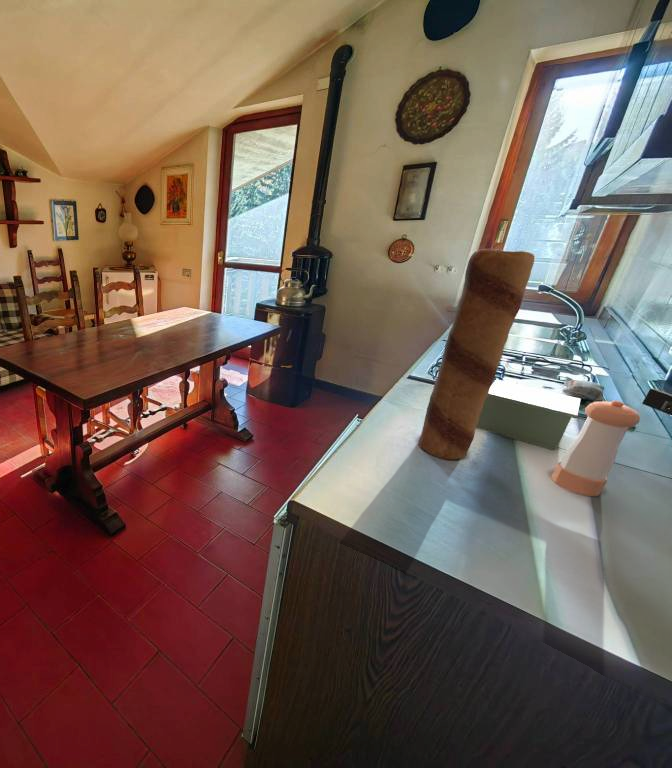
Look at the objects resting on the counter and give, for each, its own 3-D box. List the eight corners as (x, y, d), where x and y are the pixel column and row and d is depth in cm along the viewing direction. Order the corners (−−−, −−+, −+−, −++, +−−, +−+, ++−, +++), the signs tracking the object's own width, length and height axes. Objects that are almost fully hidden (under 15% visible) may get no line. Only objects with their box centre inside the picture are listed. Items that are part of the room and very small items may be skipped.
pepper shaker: (599, 485, 80) (645, 402, 73) (600, 501, 76) (649, 414, 68) (551, 470, 85) (590, 390, 78) (549, 484, 80) (590, 400, 73)
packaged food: (559, 397, 122) (566, 383, 120) (561, 387, 129) (568, 374, 127) (599, 407, 116) (607, 392, 114) (599, 396, 123) (606, 382, 121)
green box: (560, 431, 101) (575, 400, 98) (555, 451, 92) (571, 417, 89) (484, 411, 112) (495, 382, 109) (473, 426, 103) (484, 395, 100)
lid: (579, 401, 97) (580, 398, 97) (576, 418, 88) (577, 415, 88) (495, 382, 109) (496, 379, 108) (484, 395, 100) (485, 392, 99)
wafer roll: (408, 434, 99) (464, 247, 81) (456, 441, 96) (525, 249, 78) (420, 455, 90) (486, 250, 72) (473, 464, 87) (556, 252, 69)
